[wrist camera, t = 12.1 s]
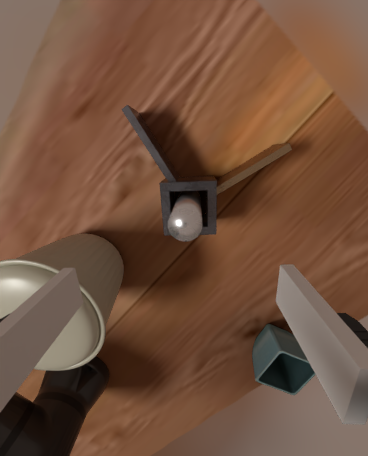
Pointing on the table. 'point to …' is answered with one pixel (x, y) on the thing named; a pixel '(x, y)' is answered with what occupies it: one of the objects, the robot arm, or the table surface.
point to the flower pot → (280, 361)
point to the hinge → (197, 182)
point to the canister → (89, 285)
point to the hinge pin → (186, 216)
